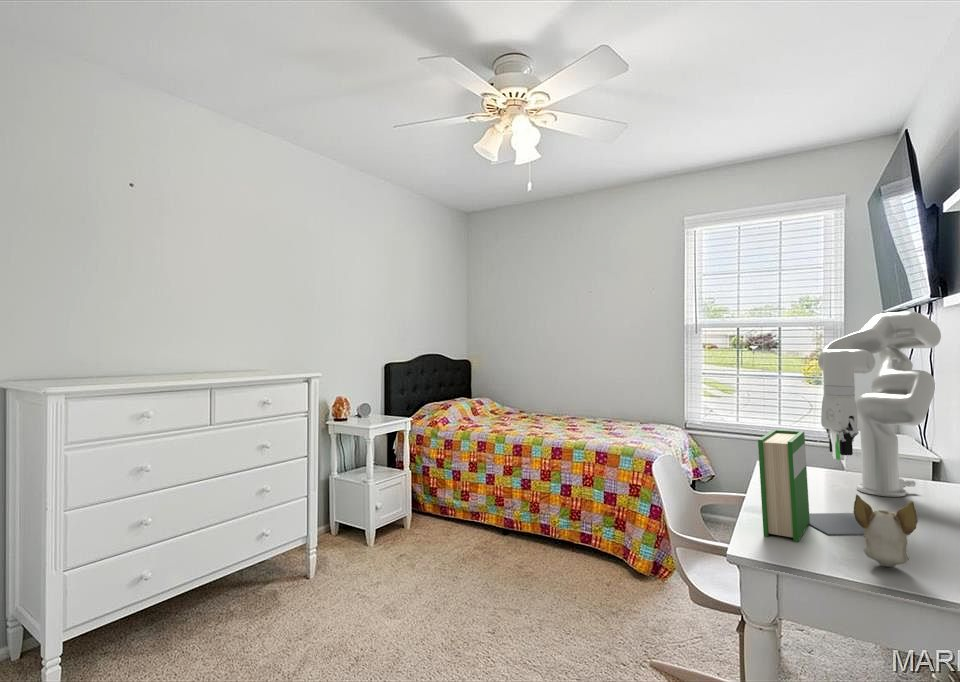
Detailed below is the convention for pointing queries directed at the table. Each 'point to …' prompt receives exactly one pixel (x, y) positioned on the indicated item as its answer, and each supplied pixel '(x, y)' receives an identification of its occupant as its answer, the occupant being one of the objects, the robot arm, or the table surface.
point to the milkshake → (836, 444)
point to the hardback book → (784, 483)
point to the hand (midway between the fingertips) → (840, 452)
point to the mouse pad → (836, 523)
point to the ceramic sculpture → (886, 532)
